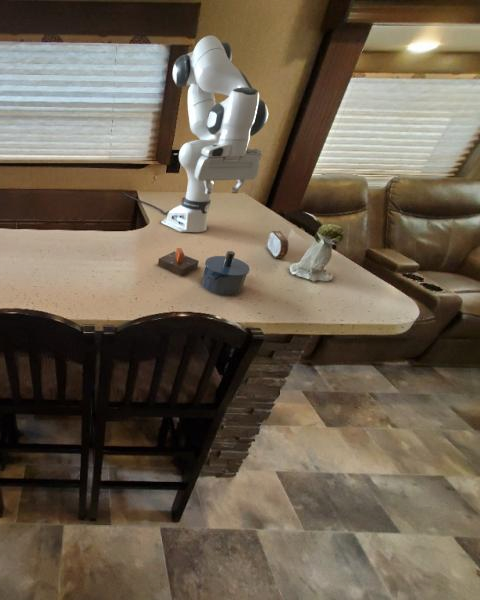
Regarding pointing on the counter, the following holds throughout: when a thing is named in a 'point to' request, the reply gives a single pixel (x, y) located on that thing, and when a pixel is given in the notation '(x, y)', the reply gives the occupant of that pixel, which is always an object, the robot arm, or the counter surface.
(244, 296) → the counter surface
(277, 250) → the tin
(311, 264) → the mossy white figurine
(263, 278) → the counter surface
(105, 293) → the counter surface
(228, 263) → the pot lid
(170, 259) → the handle block
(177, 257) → the block
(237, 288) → the pot
